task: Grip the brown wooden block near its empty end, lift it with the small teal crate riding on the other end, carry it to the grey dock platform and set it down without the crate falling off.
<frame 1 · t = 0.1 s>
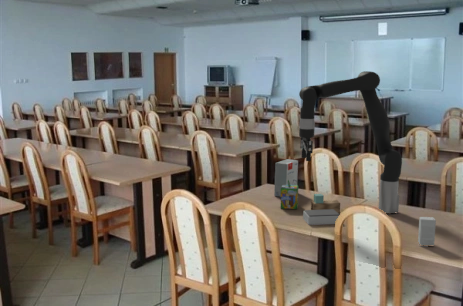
hand: (306, 159, 254), 29 cm above the table, tool pointing down, fingers open, 8 cm apart
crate: (318, 202, 262), point 6 cm above the table, touching brown wooden block
skincare box: (425, 245, 218), on the table
chalk box: (289, 207, 274), on the table
brown wooden block: (325, 213, 264), on the table, touching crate
hard drive box: (285, 194, 300), on the table
dock: (321, 221, 250), on the table
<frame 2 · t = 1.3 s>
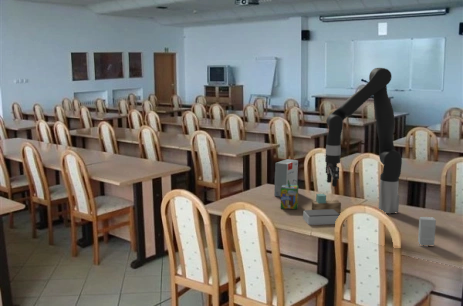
hand: (331, 184, 261), 15 cm above the table, tool pointing down, fingers open, 8 cm apart
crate: (321, 202, 262), point 6 cm above the table, touching brown wooden block
everything else where it was.
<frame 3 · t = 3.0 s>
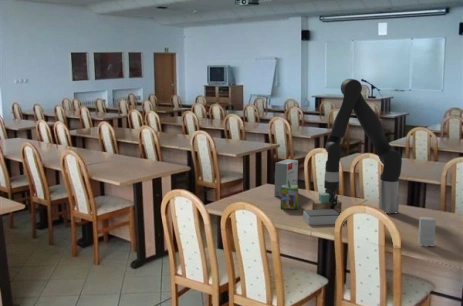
hand: (330, 211, 264), 1 cm above the table, tool pointing down, fingers closed on brown wooden block, 5 cm apart
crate: (323, 201, 262), point 6 cm above the table, touching brown wooden block
brown wooden block: (326, 212, 264), on the table, touching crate, gripper
everything else where it was.
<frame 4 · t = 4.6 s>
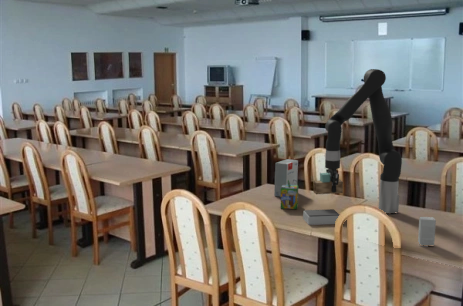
hand: (332, 190, 262), 12 cm above the table, tool pointing down, fingers closed on brown wooden block, 5 cm apart
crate: (324, 181, 260), point 17 cm above the table, touching brown wooden block
brown wooden block: (328, 192, 262), point 11 cm above the table, touching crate, gripper
everything else where it was.
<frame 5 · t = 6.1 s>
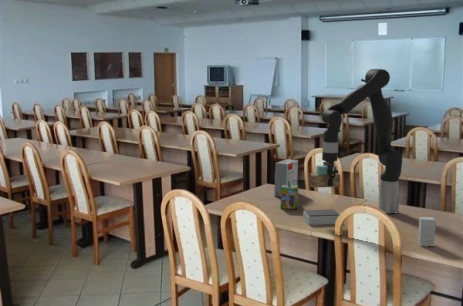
hand: (328, 184, 250), 18 cm above the table, tool pointing down, fingers closed on brown wooden block, 5 cm apart
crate: (321, 174, 249), point 23 cm above the table, touching brown wooden block
brown wooden block: (324, 186, 250), point 17 cm above the table, touching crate, gripper
everything else where it was.
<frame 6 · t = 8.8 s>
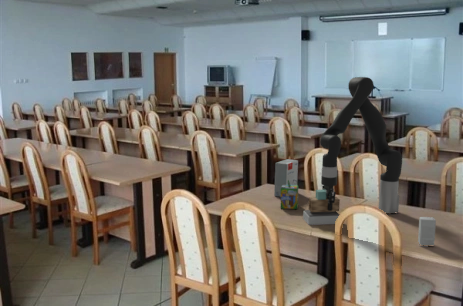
hand: (328, 208, 249), 6 cm above the table, tool pointing down, fingers closed on brown wooden block, 5 cm apart
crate: (320, 198, 247), point 12 cm above the table, touching brown wooden block
brown wooden block: (323, 210, 249), point 6 cm above the table, touching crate, gripper
everything else where it was.
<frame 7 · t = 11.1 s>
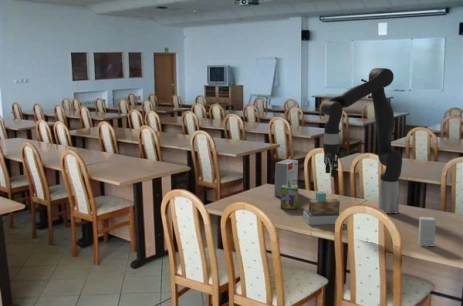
hand: (330, 174, 248), 23 cm above the table, tool pointing down, fingers open, 8 cm apart
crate: (320, 200, 248), point 10 cm above the table, touching brown wooden block
brown wooden block: (323, 212, 249), point 4 cm above the table, touching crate, dock
everything else where it was.
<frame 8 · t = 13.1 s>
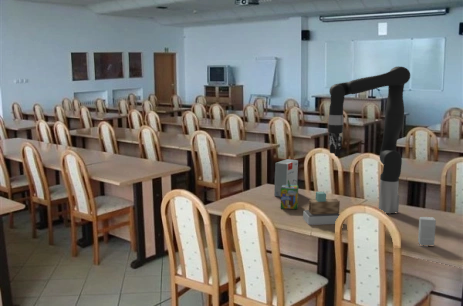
hand: (334, 154, 262), 30 cm above the table, tool pointing down, fingers open, 8 cm apart
nothing on the table moved.
at the end: brown wooden block inside the target area on the dock (1.0 cm from its centre), point 4.5 cm above the dock's base; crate point 10.5 cm above the table; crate 1.8 cm from the brown wooden block (horizontally) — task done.
